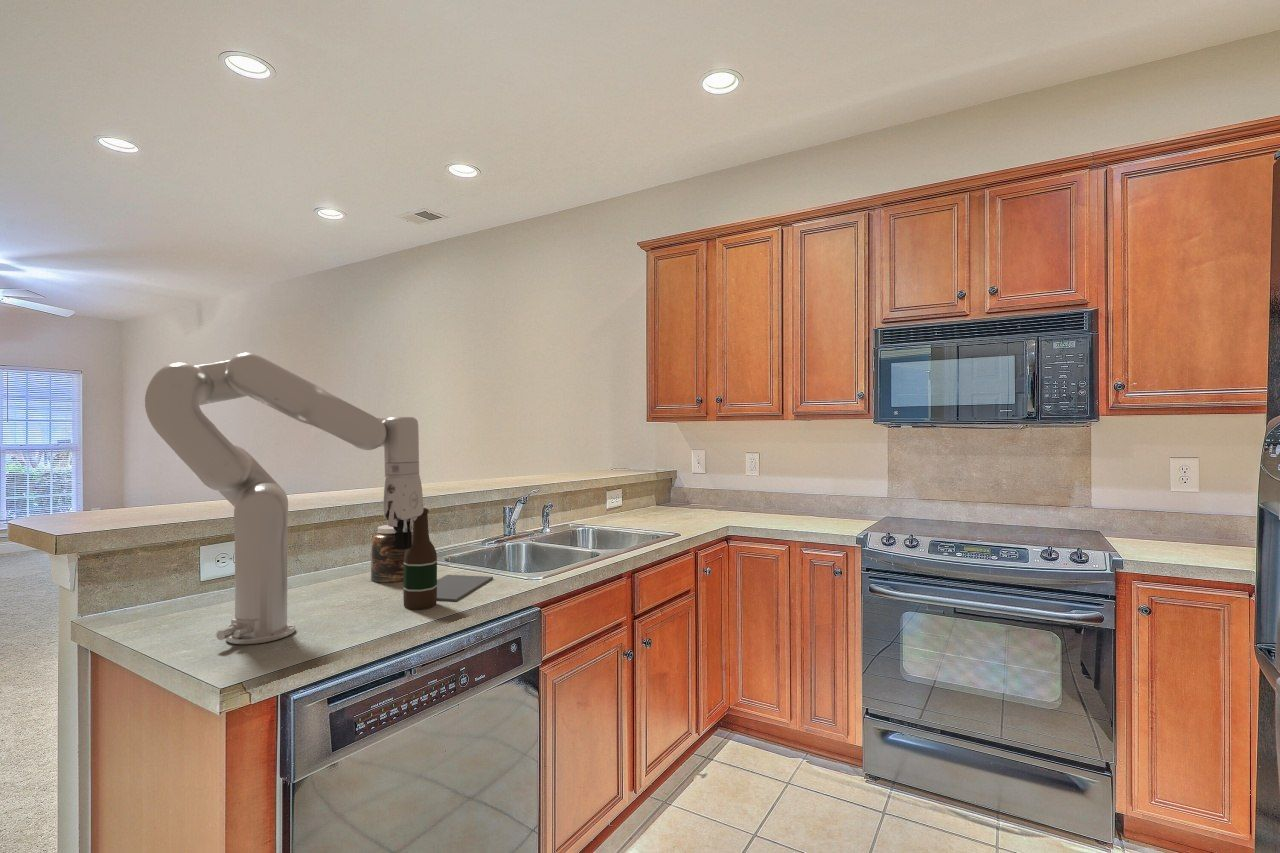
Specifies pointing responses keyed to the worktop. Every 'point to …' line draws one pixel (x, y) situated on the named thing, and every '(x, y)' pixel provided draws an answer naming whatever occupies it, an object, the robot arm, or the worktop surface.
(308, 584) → the worktop surface
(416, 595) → the beer bottle
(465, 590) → the mat
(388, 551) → the jar
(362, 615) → the worktop surface
